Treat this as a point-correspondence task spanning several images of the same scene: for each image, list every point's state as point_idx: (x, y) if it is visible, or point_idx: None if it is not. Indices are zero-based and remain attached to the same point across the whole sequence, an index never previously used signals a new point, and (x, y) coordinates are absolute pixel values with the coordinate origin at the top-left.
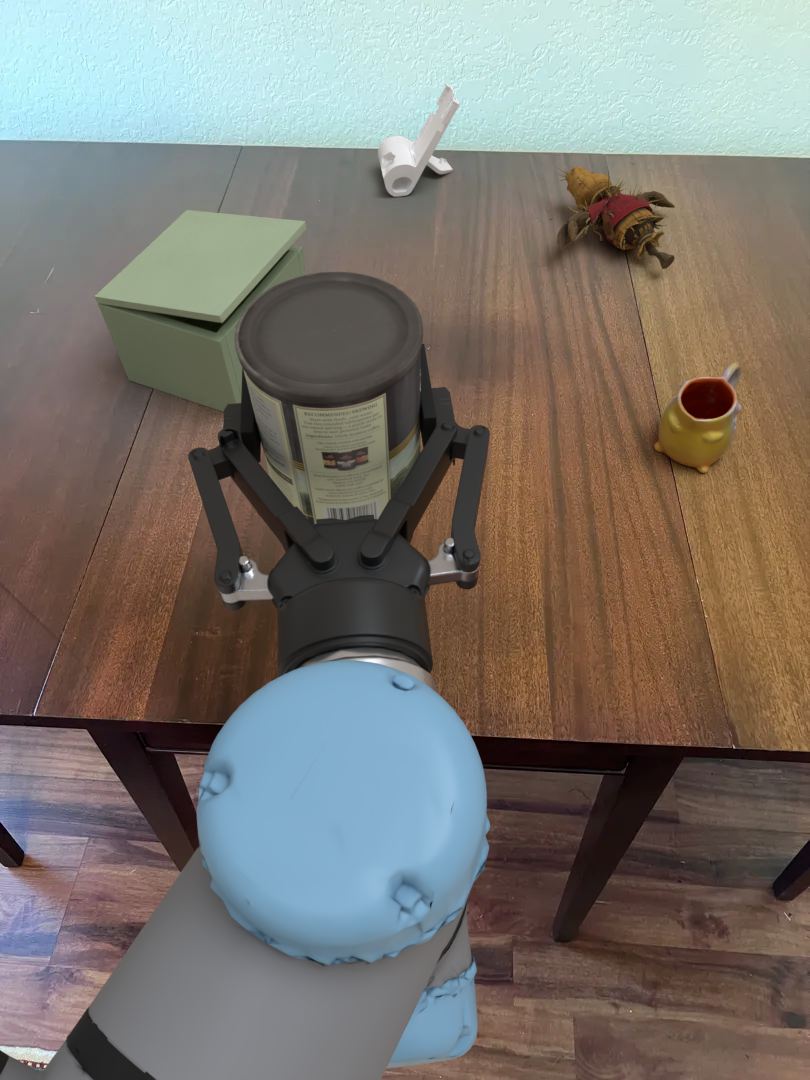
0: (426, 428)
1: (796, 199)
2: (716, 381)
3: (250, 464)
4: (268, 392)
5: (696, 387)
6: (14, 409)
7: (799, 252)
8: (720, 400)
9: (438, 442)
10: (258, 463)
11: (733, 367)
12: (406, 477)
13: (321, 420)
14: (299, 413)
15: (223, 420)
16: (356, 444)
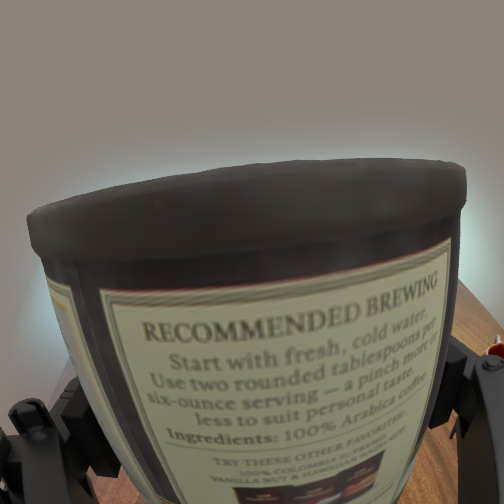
0: (448, 385)
1: (459, 281)
2: (498, 345)
3: (50, 484)
4: (48, 265)
5: (490, 352)
6: (50, 404)
7: (475, 297)
8: (501, 357)
9: (502, 392)
10: (65, 487)
11: (499, 337)
12: (500, 490)
13: (223, 365)
14: (126, 333)
15: (60, 395)
16: (357, 451)
